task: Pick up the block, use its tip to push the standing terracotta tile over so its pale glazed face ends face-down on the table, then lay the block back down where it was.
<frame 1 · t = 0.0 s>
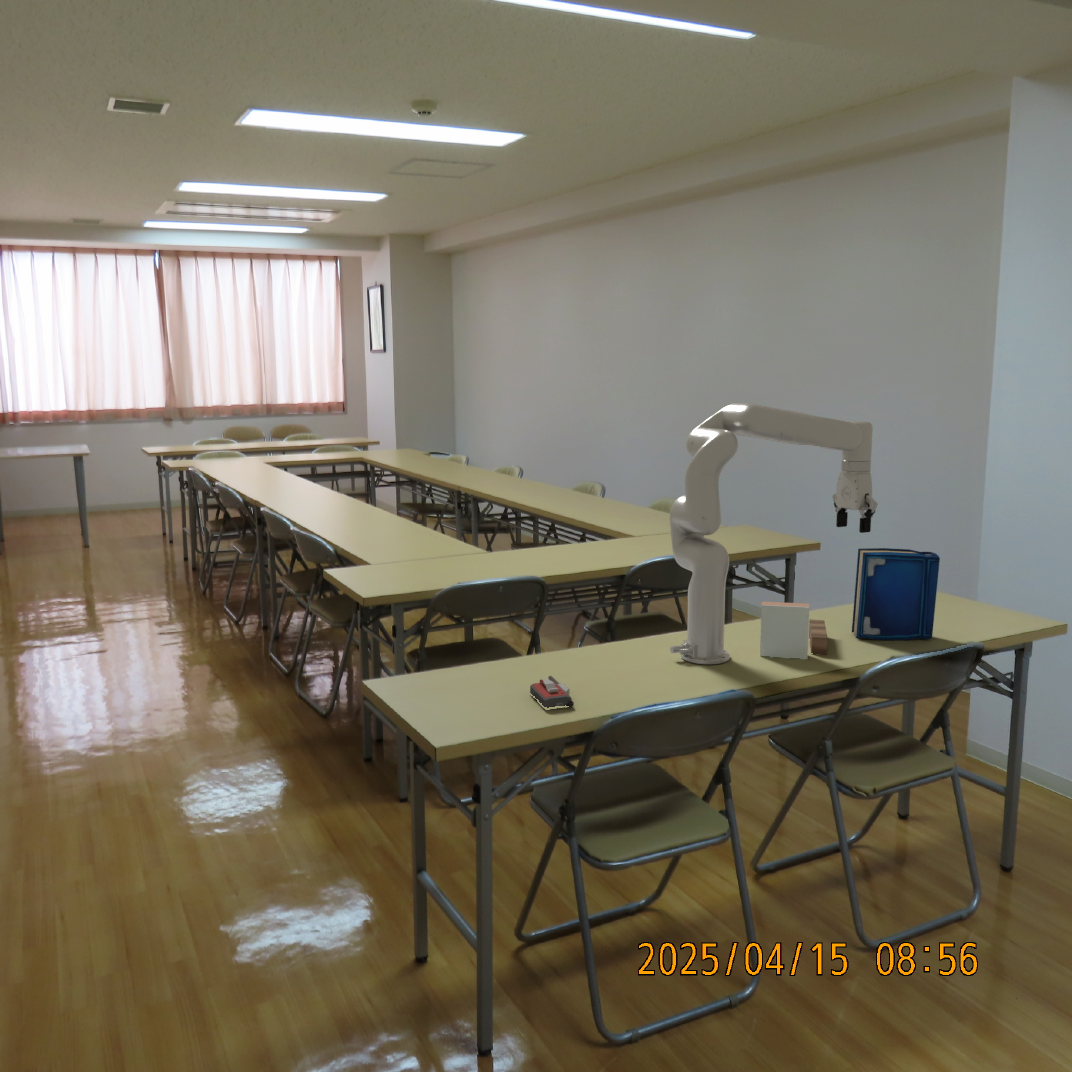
hand: (853, 529, 253), 31 cm above the table, tool pointing down, fingers open, 9 cm apart
tile: (783, 655, 245), on the table
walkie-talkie: (550, 698, 217), on the table
book: (893, 638, 260), on the table
block: (817, 645, 254), on the table
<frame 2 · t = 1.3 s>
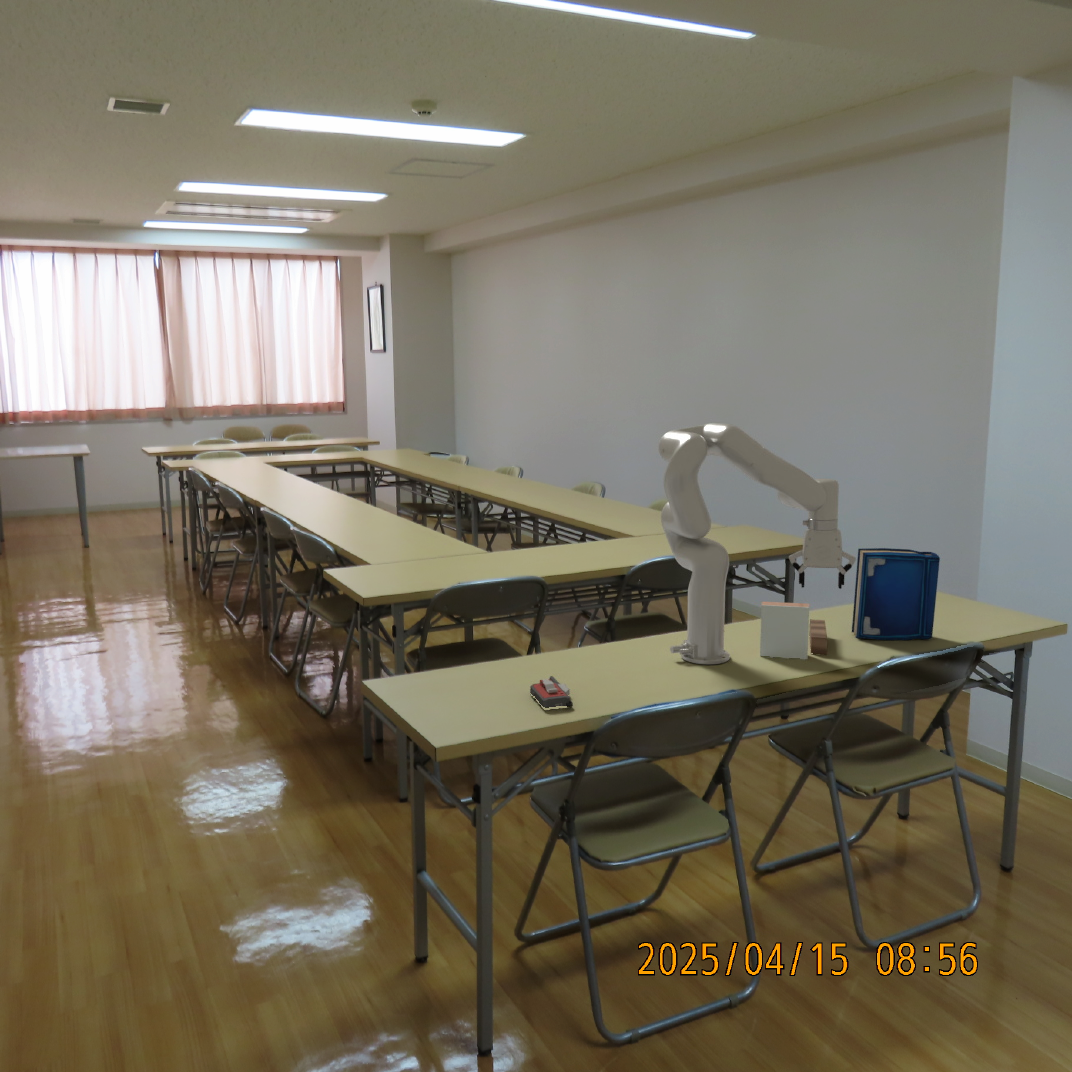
hand: (821, 587, 251), 16 cm above the table, tool pointing down, fingers open, 9 cm apart
nothing on the table moved.
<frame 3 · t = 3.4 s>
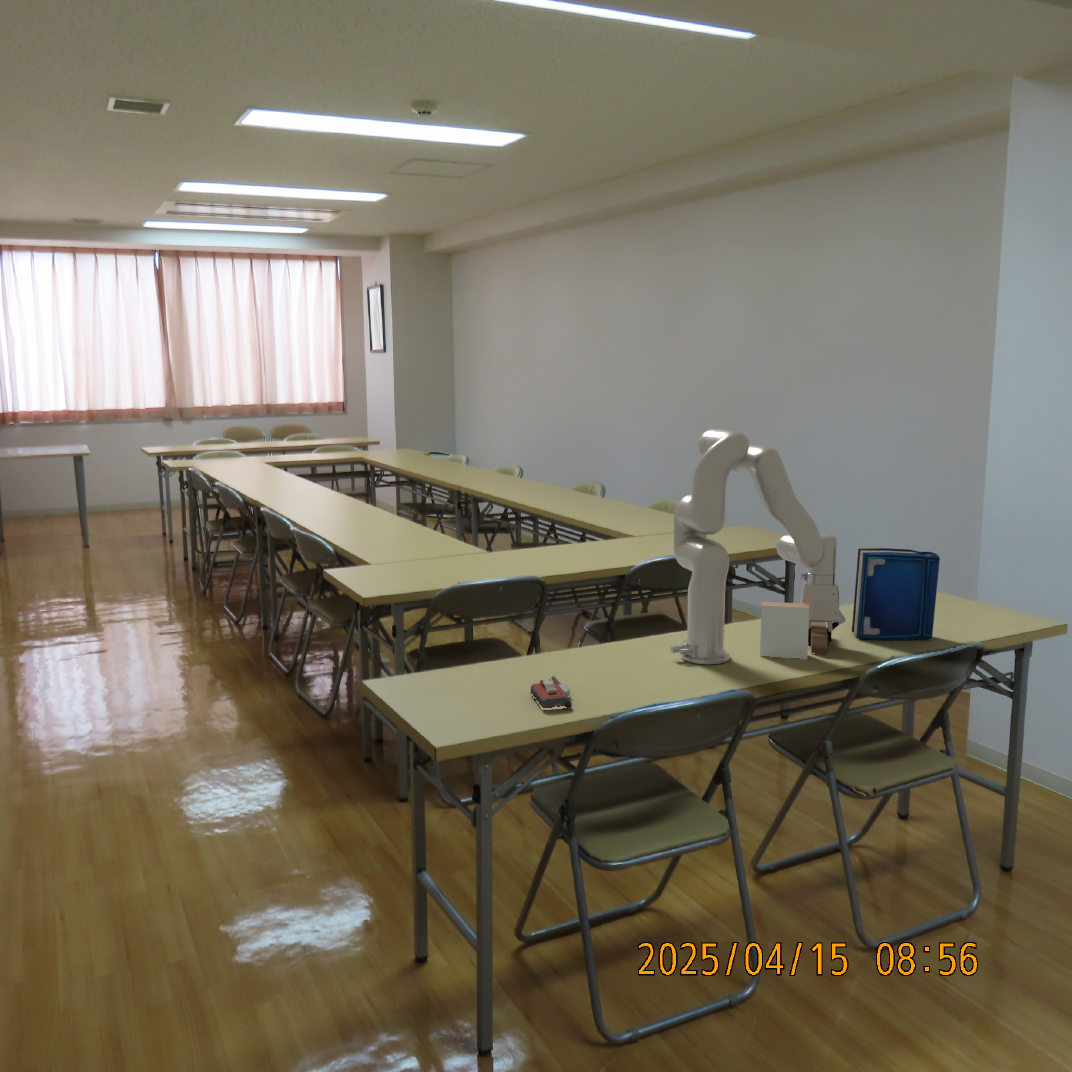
hand: (818, 643, 254), 0 cm above the table, tool pointing down, fingers closed on block, 4 cm apart
block: (818, 644, 254), on the table, touching gripper
everything else where it was.
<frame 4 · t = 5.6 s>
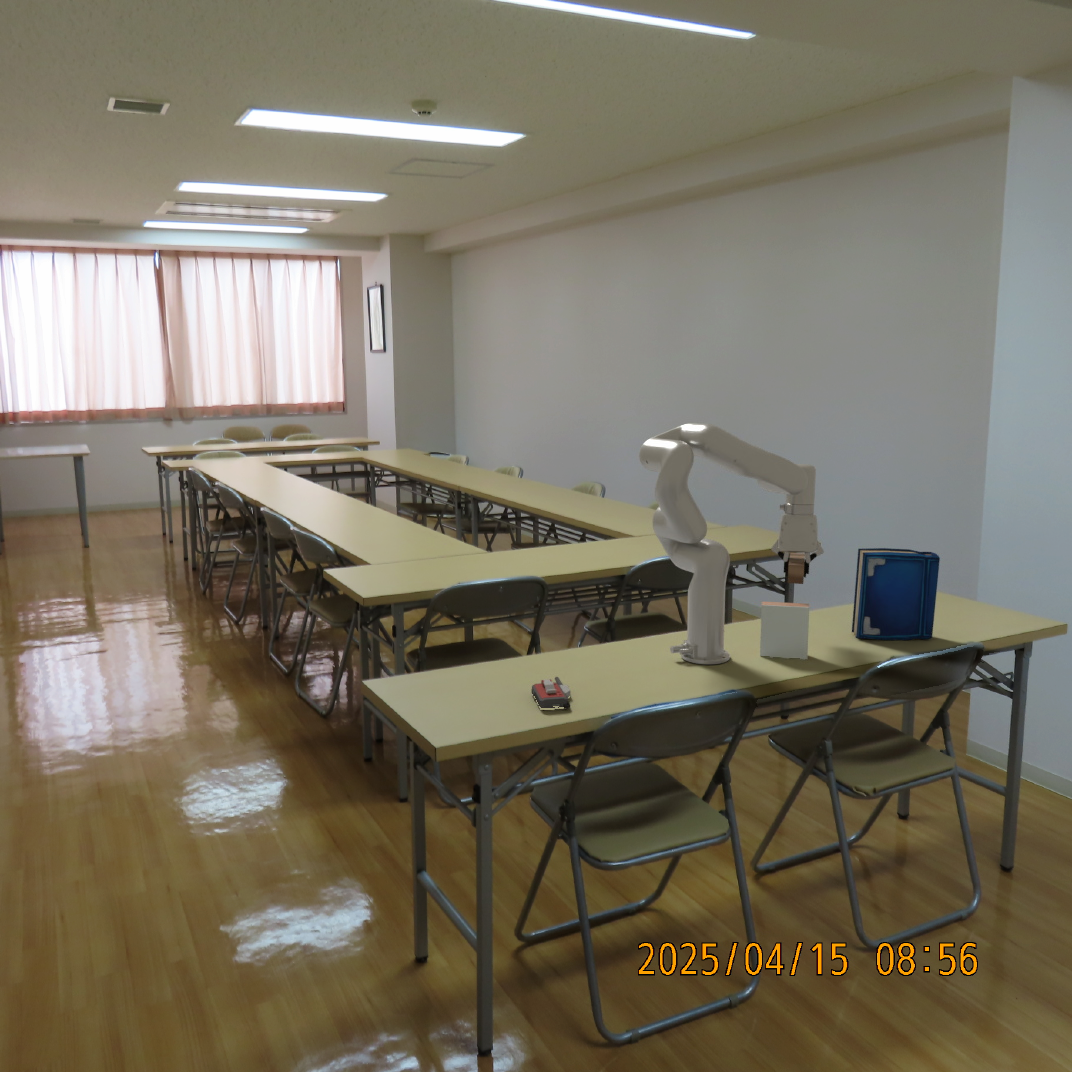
hand: (796, 575, 254), 19 cm above the table, tool pointing down, fingers closed on block, 4 cm apart
block: (796, 576, 254), point 18 cm above the table, touching gripper
everything else where it was.
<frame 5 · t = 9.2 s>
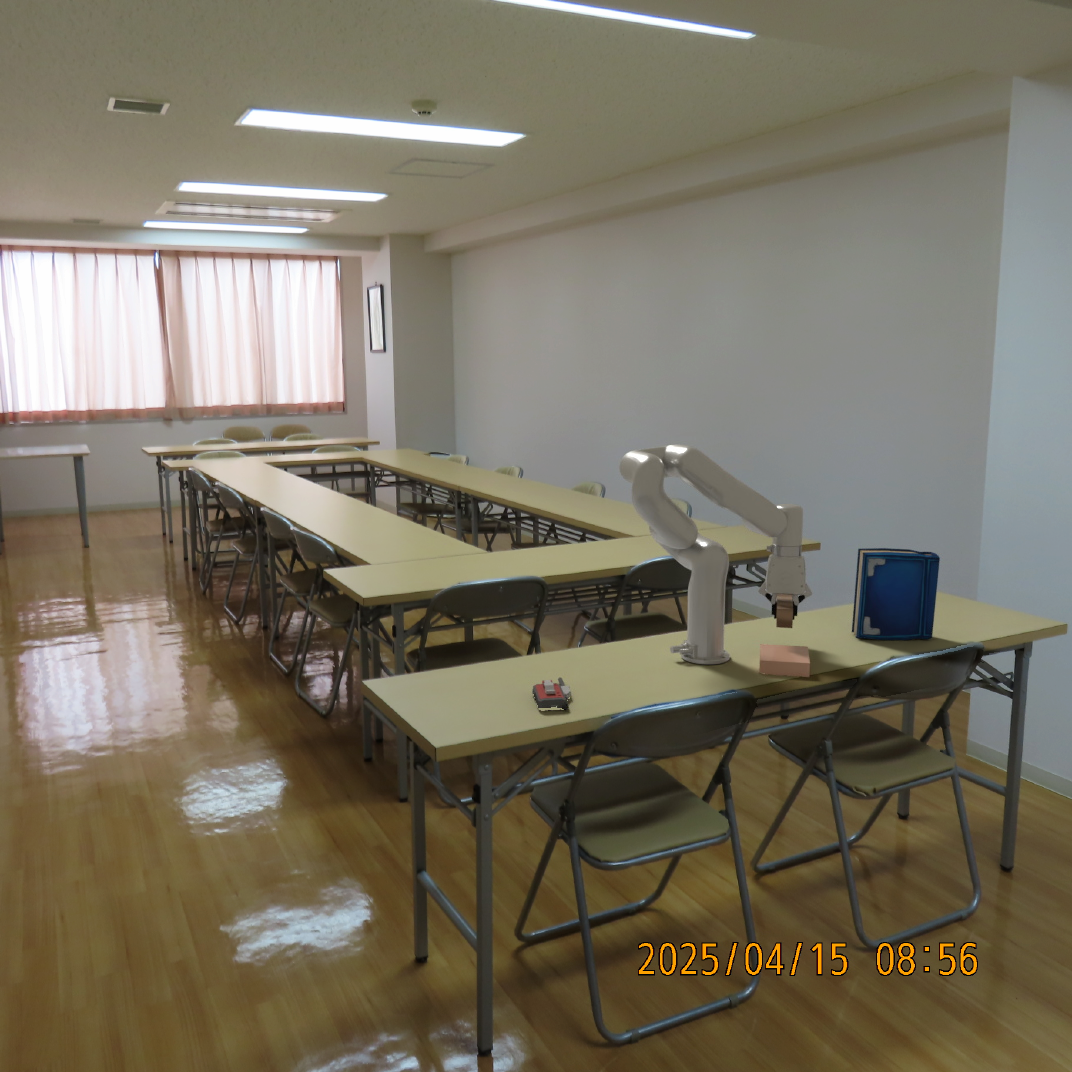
hand: (784, 617, 248), 9 cm above the table, tool pointing down, fingers closed on block, 4 cm apart
tile: (783, 652, 242), point 2 cm above the table, tilted 90°
block: (784, 618, 248), point 9 cm above the table, touching gripper
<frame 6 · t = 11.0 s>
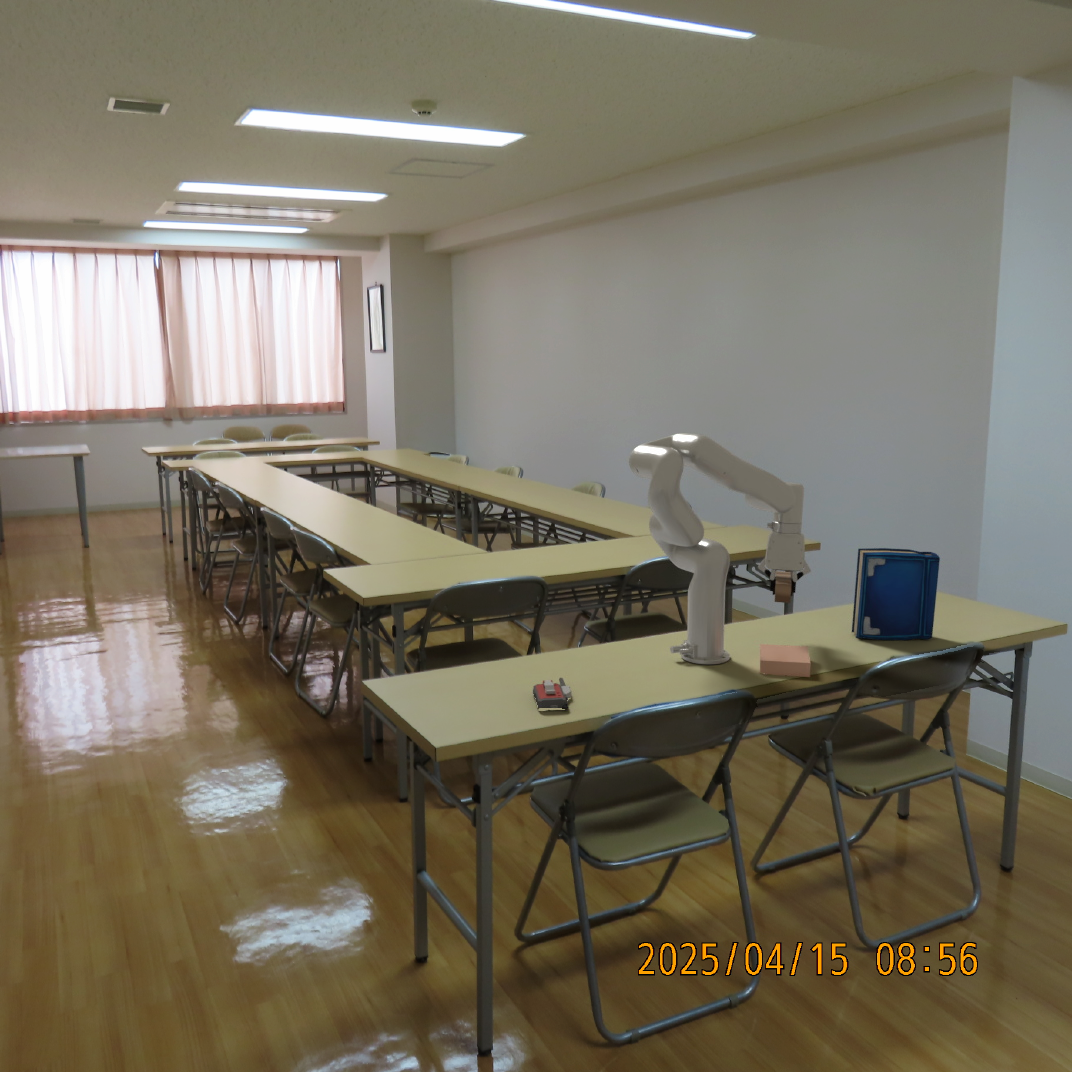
hand: (782, 593, 253), 14 cm above the table, tool pointing down, fingers closed on block, 4 cm apart
block: (782, 595, 253), point 14 cm above the table, touching gripper
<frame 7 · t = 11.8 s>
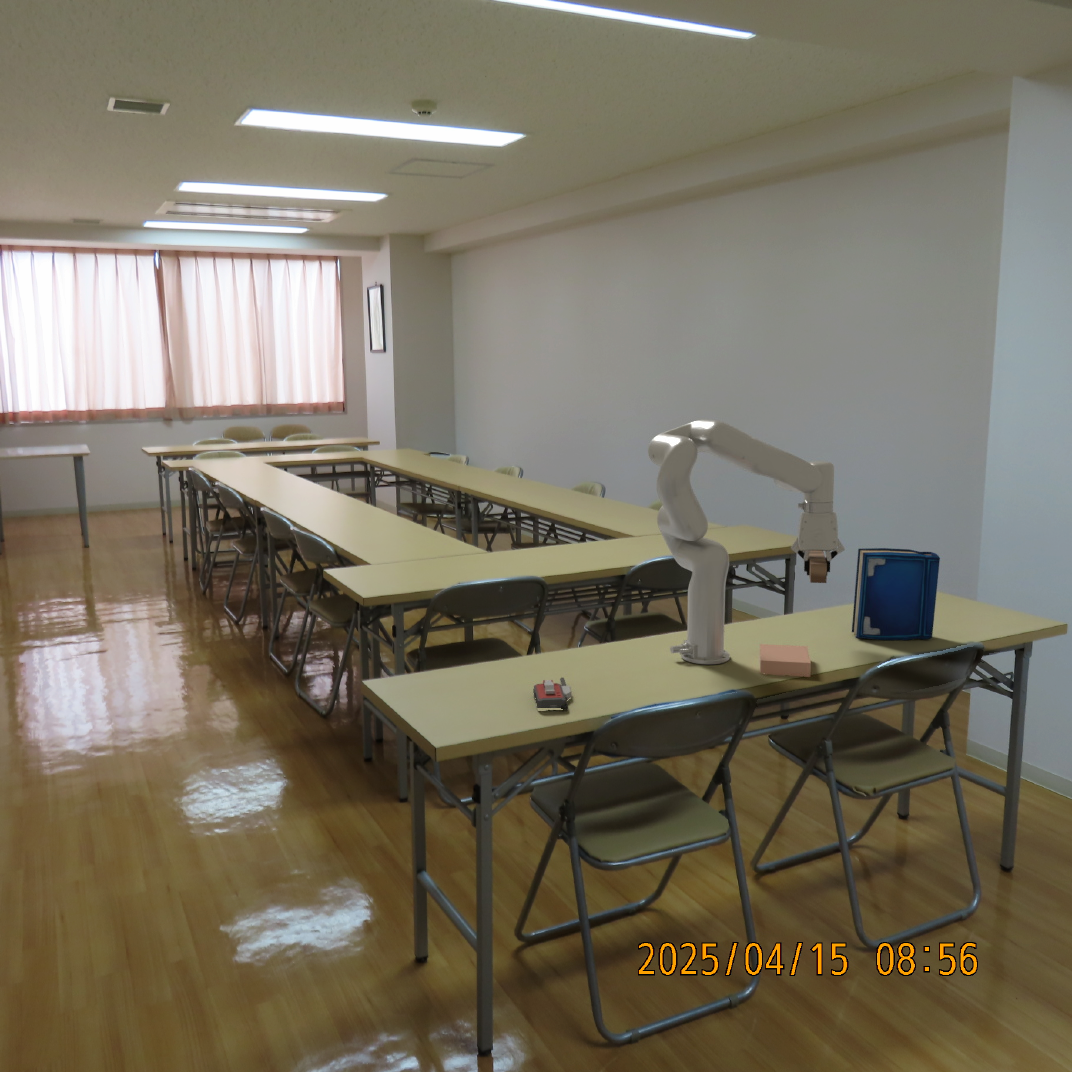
hand: (816, 573, 251), 20 cm above the table, tool pointing down, fingers closed on block, 4 cm apart
block: (816, 575, 251), point 19 cm above the table, touching gripper
when the fingers open (2 cm above the table, at t = 15.6 s): block drops 2 cm, on the table.
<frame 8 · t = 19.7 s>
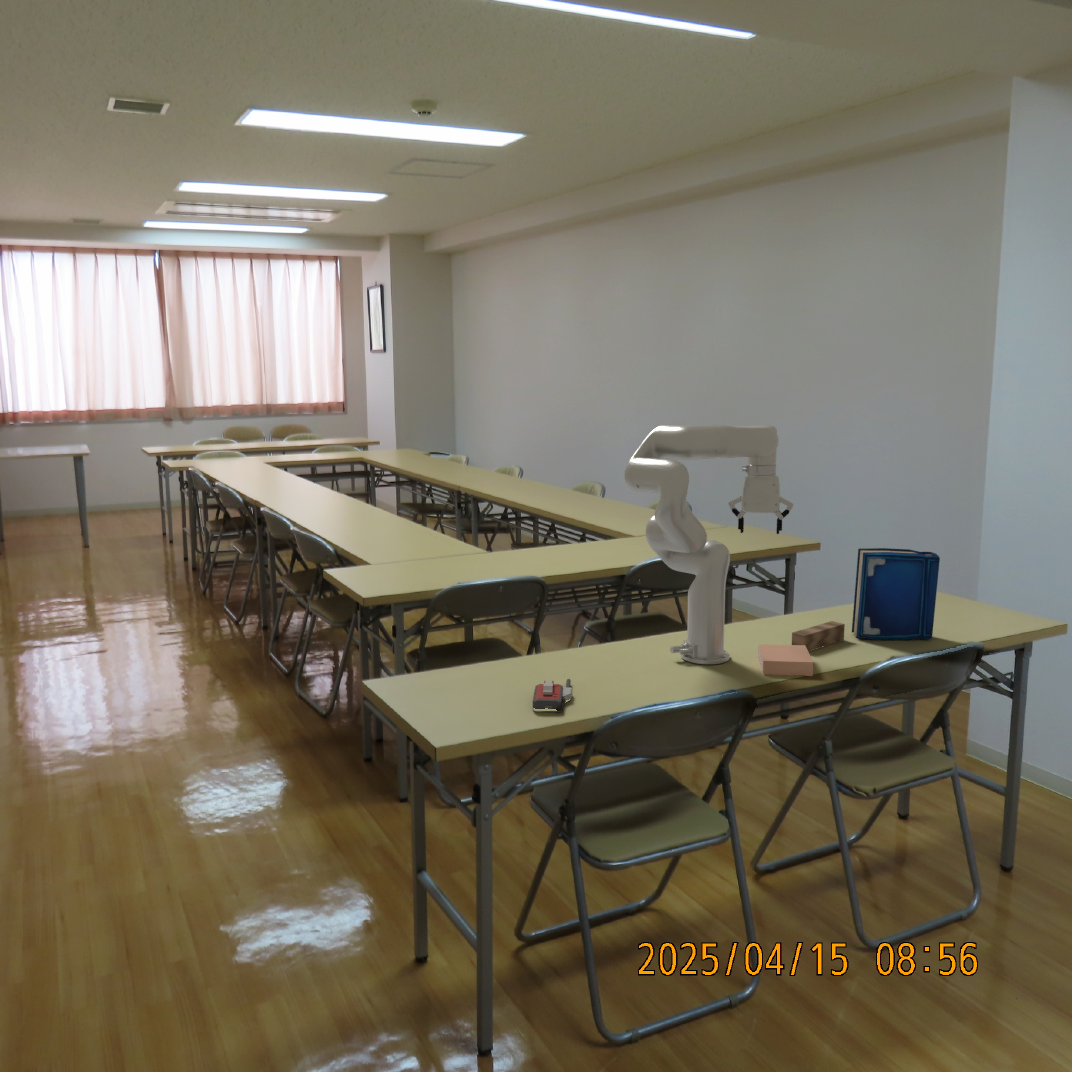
hand: (759, 532, 255), 30 cm above the table, tool pointing down, fingers open, 9 cm apart
block: (818, 645, 254), on the table
at the end: tile tilted 90°; the gripper is holding nothing; block on the table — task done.
